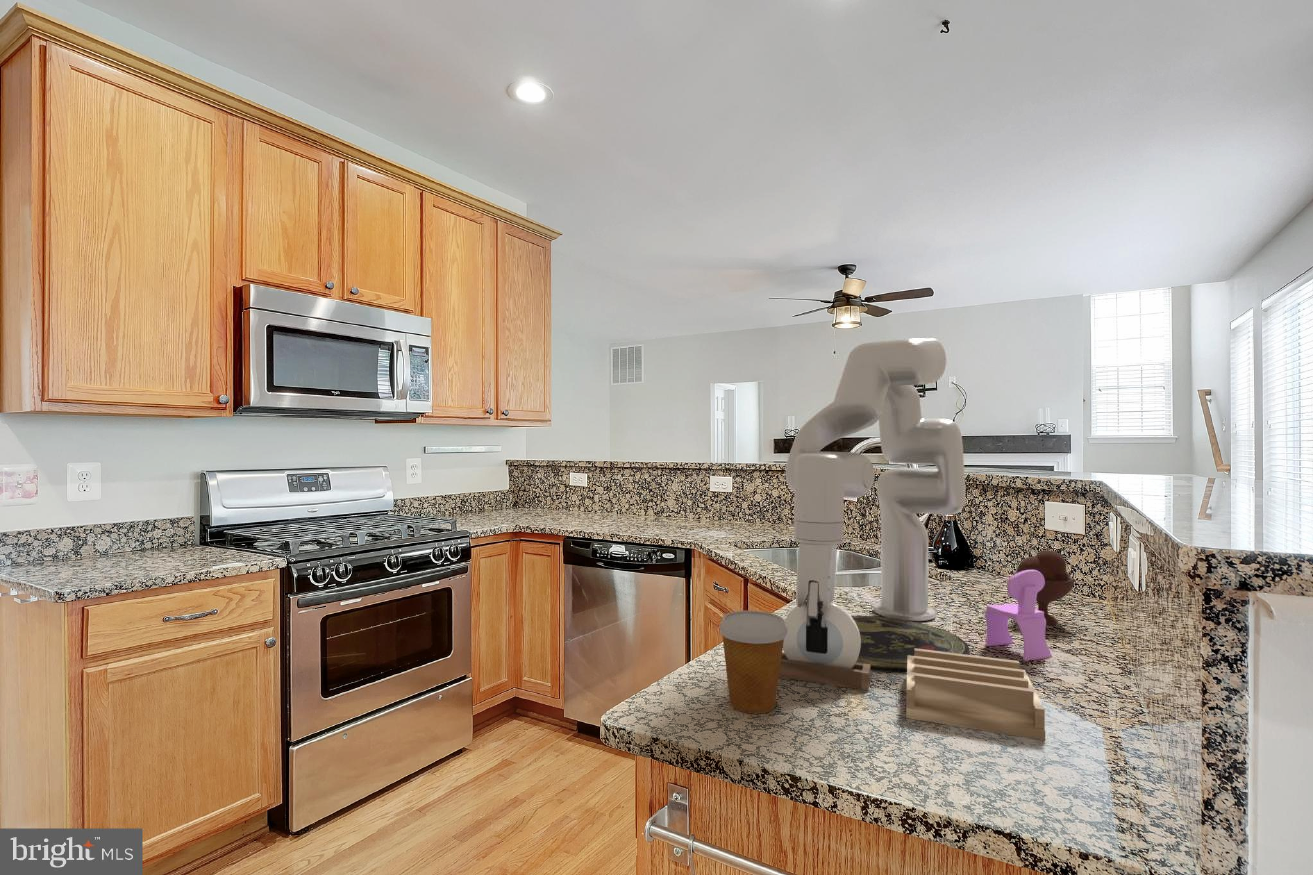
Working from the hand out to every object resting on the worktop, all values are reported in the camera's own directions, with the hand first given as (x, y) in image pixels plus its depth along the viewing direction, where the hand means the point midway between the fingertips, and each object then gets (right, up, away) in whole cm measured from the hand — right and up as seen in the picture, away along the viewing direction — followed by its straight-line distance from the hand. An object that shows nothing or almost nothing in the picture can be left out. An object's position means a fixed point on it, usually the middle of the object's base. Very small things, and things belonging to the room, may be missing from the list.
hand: (817, 649), depth 98 cm
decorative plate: (+16, -5, +17) cm, 24 cm away
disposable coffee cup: (-12, -5, -10) cm, 16 cm away
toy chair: (+39, -5, +14) cm, 42 cm away
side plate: (0, +2, 0) cm, 2 cm away
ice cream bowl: (+56, -6, +33) cm, 65 cm away
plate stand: (0, -5, 0) cm, 5 cm away
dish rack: (+19, -5, -10) cm, 22 cm away
